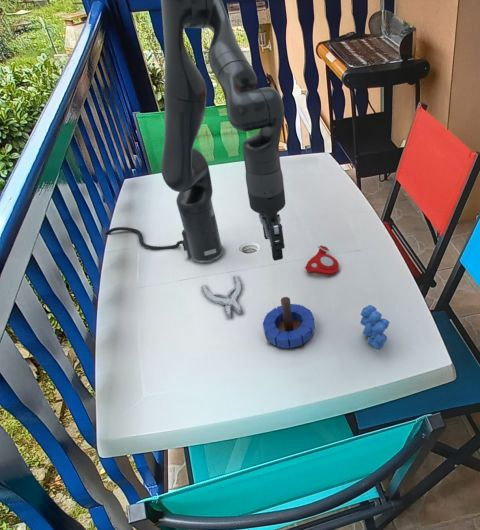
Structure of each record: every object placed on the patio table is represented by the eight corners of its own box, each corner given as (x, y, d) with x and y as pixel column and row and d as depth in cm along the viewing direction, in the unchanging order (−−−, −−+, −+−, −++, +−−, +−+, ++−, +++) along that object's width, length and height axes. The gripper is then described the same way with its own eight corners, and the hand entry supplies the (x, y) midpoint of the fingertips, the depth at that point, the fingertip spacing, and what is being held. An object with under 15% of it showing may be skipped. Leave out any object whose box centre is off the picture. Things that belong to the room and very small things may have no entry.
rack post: (269, 343, 122) (263, 309, 114) (278, 320, 128) (273, 287, 121) (301, 347, 121) (297, 313, 114) (308, 323, 127) (305, 290, 120)
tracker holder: (346, 268, 143) (316, 273, 137) (341, 278, 146) (312, 284, 140) (327, 239, 149) (298, 243, 143) (323, 250, 152) (294, 254, 146)
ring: (258, 344, 120) (256, 337, 118) (272, 309, 130) (271, 301, 128) (308, 350, 119) (307, 342, 117) (319, 314, 128) (318, 306, 127)
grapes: (398, 355, 119) (401, 320, 112) (373, 364, 117) (373, 328, 110) (379, 323, 128) (380, 288, 120) (355, 330, 125) (354, 295, 118)
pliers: (236, 273, 140) (252, 305, 130) (237, 277, 141) (253, 309, 131) (201, 283, 136) (215, 317, 126) (202, 287, 137) (216, 322, 127)
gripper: (241, 173, 107) (250, 234, 117) (254, 207, 97) (264, 270, 107) (275, 168, 109) (282, 228, 119) (291, 200, 99) (297, 263, 109)
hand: (273, 248), depth 113 cm, fingers open, 8 cm apart
